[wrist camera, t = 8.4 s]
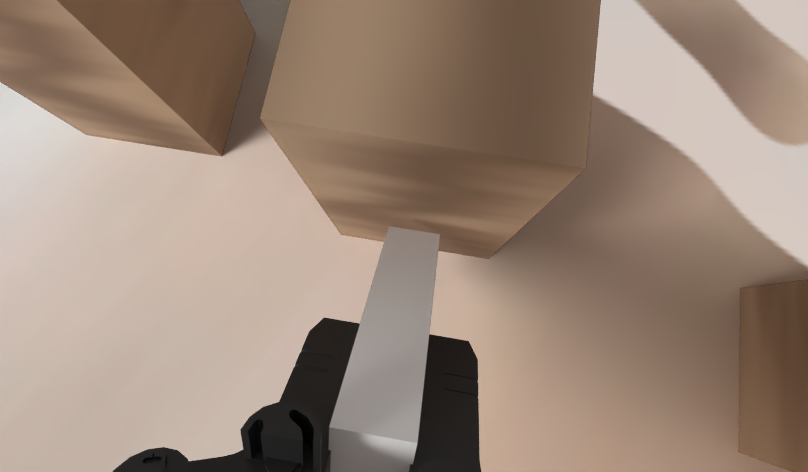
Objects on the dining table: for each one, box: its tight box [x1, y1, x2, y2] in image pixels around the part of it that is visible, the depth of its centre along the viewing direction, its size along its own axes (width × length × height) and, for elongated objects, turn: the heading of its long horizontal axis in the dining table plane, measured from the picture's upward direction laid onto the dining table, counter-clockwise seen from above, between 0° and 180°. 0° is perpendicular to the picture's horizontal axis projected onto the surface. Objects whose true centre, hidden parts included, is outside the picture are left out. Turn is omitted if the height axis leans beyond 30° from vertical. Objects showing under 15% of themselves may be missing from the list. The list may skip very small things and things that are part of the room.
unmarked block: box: [260, 0, 601, 259], centre depth 14 cm, size 6×6×10 cm
